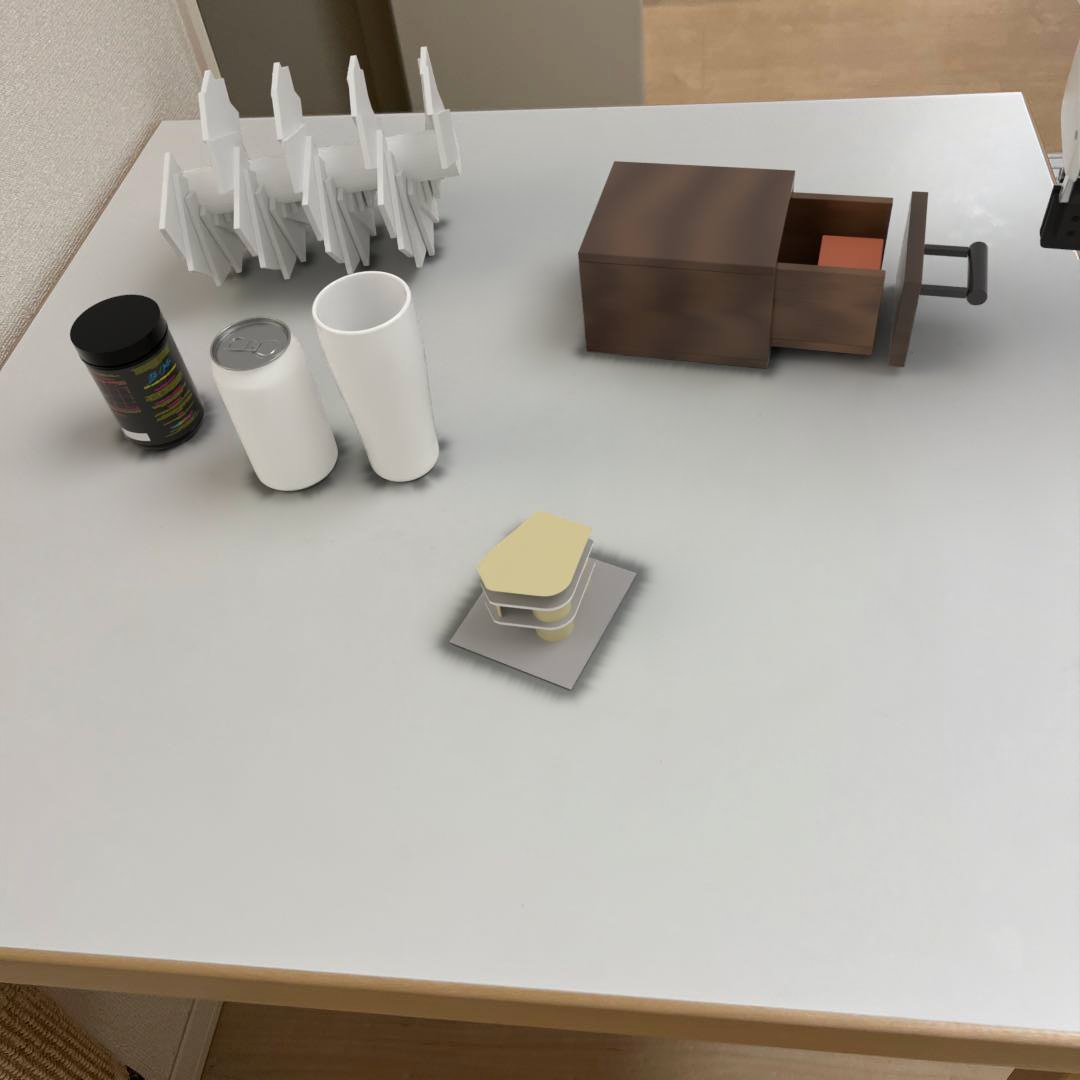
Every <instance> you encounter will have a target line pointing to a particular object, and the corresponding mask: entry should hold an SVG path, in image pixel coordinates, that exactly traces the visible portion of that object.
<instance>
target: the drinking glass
mask: <svg viewBox="0 0 1080 1080" xmlns="http://www.w3.org/2000/svg"><path fill="white" fill-rule="evenodd" d="M416 308H417V307H416V305H415V301H414V298H413V296H412V292H411V288H410V287H409V285H408V284H407V282H406V281H405V280H404V279H402V278H401V277H399V276H397V275H396V274H393V273H390V272H387V271H386V272H385V271H380V270H379V271H377V270H367V271H359V272H358V271H357V272H354V273H353V274H347V275H344V276H342V277H340V278H337V279H335V280H334V281H332V282H330V283H328V284H327V285H326V286H325V287H324V288H322V290H320V291H319V293H318V294H317V295H316V296H315V298H314V300H313V302H312V305H311V316H312V319H313V322H314V323H313V324H314V327H315V331H316V334H317V338H318V341H319V344H320V347H321V350H322V353H323V355H324V359H325V362H326V364H327V367H328V370H329V371H330V374H331V377H332V378H333V380H334V382H335V385H336V387H337V389H338V391H339V393H340V396H341V399H342V400H343V402H344V405H345V406H346V409H347V411H348V413H349V416H350V418H351V420H352V422H353V424H354V427H355V429H356V431H357V434H358V435H359V438H360V440H361V441H362V445H363V447H364V449H365V452H366V455H367V458H368V461H369V464H370V467H371V468H372V470H373V472H375V473H376V474H377V475H378V476H379V477H381V478H382V479H383V480H387V481H390V482H395V483H396V482H397V483H402V482H403V483H404V482H409V481H414V480H416V479H419V478H421V477H423V476H424V475H426V474H428V472H430V471H431V470H432V469H433V468H434V466H435V465H436V464H437V461H438V459H439V455H440V445H439V440H438V436H437V433H436V426H435V418H434V413H433V412H434V411H433V403H432V397H431V388H430V382H429V373H428V364H427V357H426V352H425V343H424V339H423V338H424V337H423V333H422V329H421V328H422V327H421V324H420V320H419V316H418V311H417V309H416Z"/></svg>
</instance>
